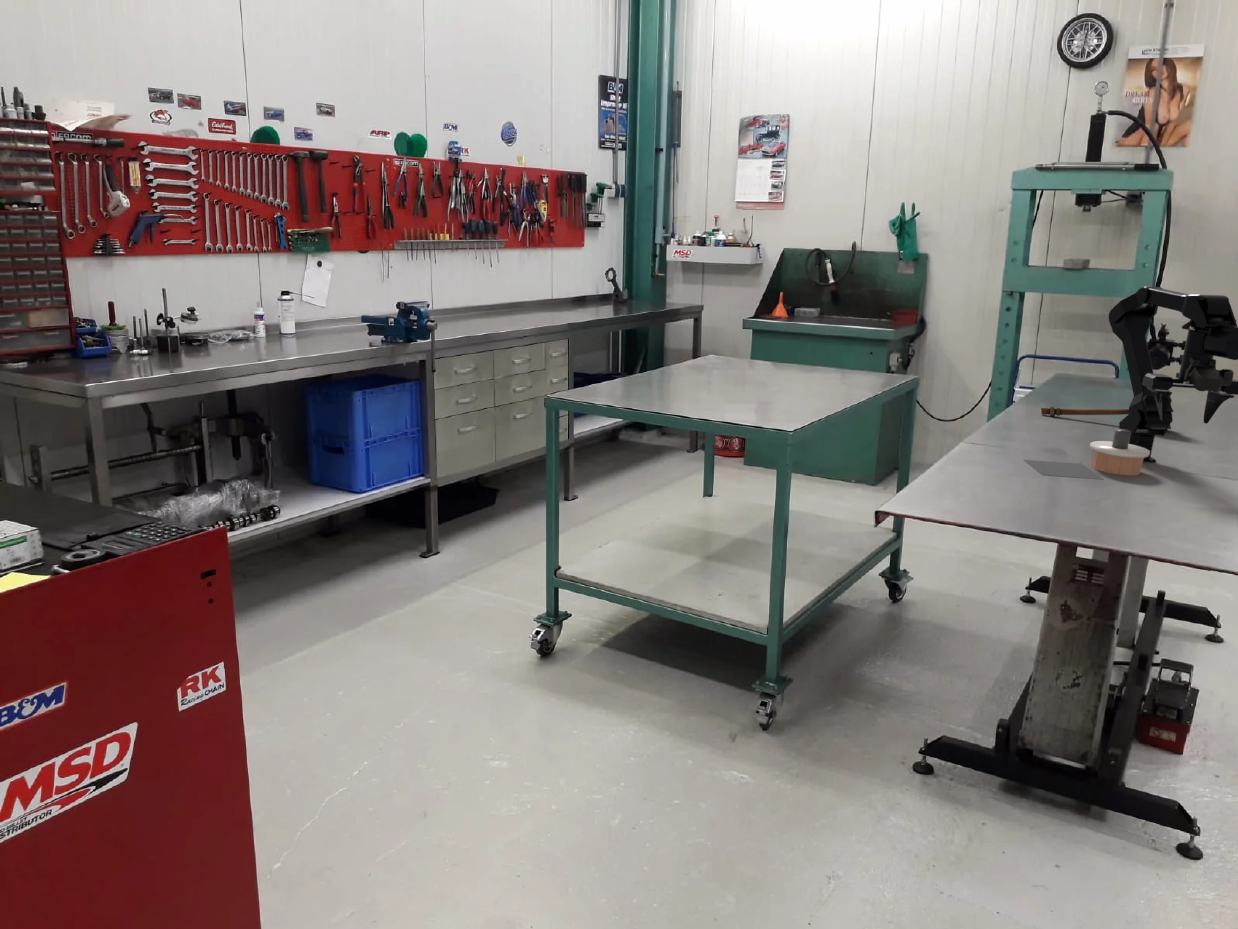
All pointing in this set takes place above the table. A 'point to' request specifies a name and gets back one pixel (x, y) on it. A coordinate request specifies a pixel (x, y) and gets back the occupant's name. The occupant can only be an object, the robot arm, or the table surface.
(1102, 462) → the bowl
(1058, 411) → the hammer
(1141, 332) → the robot arm
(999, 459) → the table surface
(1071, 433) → the table surface
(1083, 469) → the mat
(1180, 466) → the table surface
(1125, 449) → the lid
